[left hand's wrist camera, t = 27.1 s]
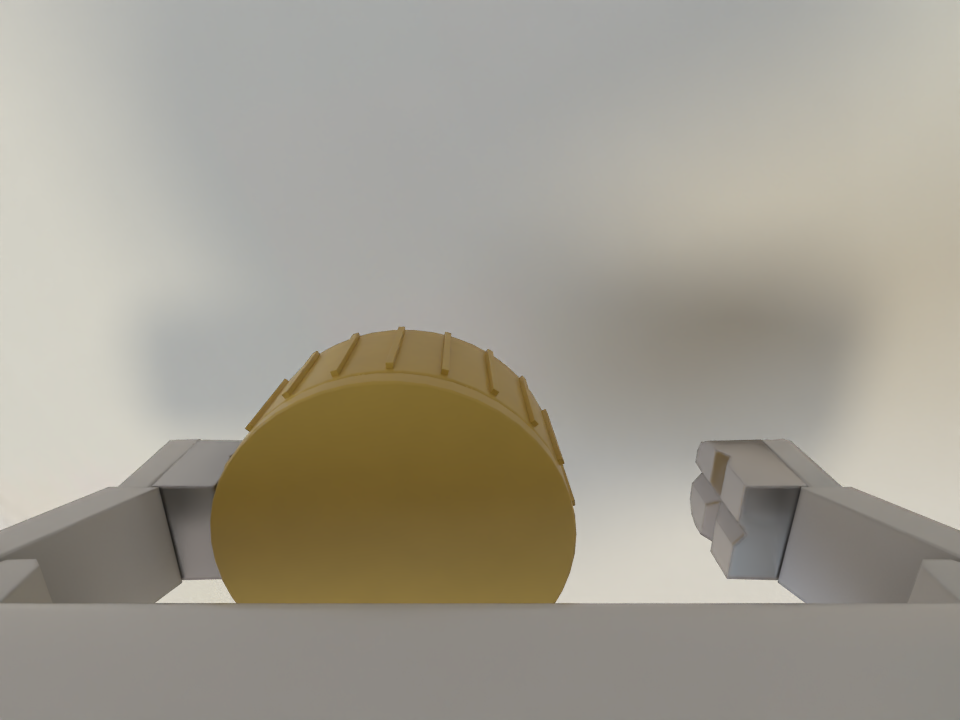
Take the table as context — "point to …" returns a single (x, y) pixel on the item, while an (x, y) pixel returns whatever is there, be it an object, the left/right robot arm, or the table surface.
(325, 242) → the table surface
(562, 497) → the lid
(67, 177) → the table surface
